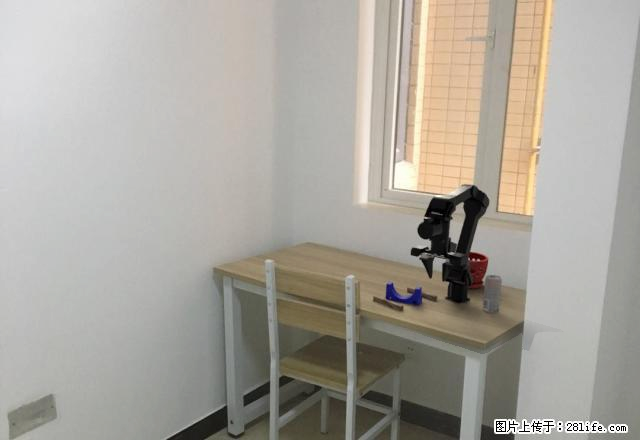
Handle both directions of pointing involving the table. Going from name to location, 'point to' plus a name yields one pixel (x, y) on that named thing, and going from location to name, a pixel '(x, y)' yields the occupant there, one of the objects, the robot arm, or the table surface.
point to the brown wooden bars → (398, 306)
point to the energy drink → (492, 294)
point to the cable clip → (408, 299)
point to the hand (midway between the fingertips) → (437, 279)
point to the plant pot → (477, 268)
